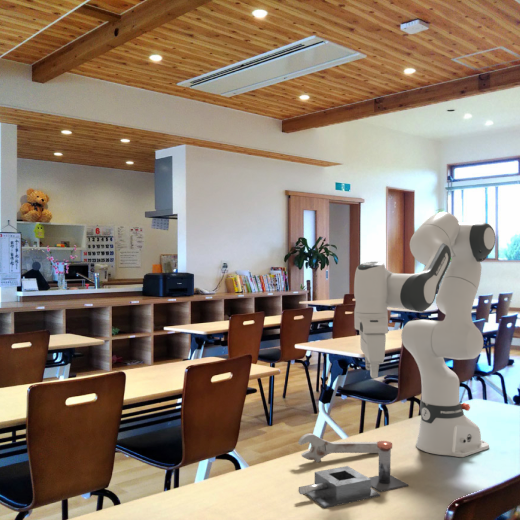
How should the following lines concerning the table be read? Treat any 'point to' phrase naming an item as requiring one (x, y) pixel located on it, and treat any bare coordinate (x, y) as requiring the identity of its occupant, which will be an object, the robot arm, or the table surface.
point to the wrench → (333, 447)
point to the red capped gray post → (384, 461)
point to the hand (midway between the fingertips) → (371, 373)
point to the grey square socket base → (339, 487)
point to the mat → (384, 487)
